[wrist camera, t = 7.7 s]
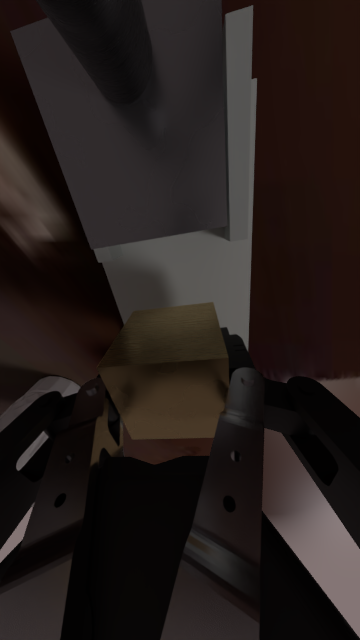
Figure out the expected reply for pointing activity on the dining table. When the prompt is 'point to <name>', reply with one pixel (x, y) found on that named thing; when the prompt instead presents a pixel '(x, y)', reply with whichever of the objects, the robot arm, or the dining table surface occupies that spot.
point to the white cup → (29, 397)
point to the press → (213, 244)
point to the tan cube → (169, 372)
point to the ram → (133, 112)
